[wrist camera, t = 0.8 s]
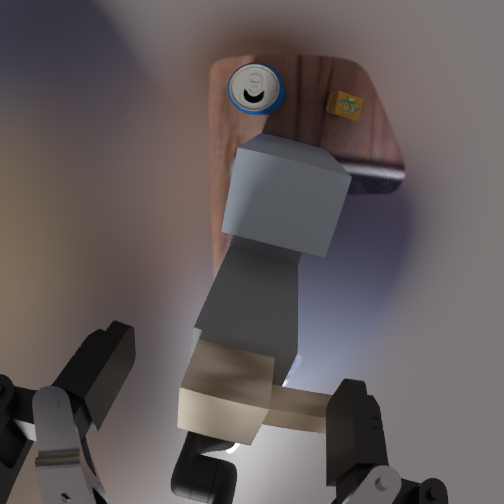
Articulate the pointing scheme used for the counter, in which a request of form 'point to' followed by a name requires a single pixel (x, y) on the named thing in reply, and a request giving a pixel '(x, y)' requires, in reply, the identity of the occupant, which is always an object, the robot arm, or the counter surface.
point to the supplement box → (344, 105)
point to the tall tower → (254, 303)
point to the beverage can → (256, 89)
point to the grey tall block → (285, 194)
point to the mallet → (242, 396)
